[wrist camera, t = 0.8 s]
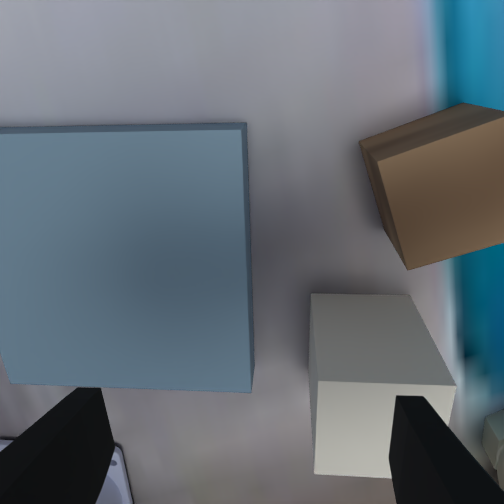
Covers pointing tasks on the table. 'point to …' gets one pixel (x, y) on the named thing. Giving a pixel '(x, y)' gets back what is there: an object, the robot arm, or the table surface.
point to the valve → (495, 443)
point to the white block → (367, 378)
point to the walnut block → (440, 183)
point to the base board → (126, 257)
